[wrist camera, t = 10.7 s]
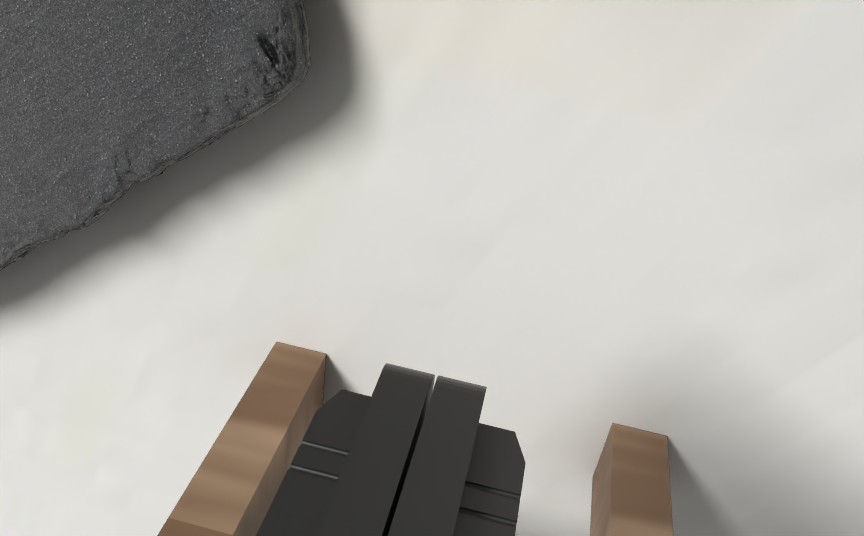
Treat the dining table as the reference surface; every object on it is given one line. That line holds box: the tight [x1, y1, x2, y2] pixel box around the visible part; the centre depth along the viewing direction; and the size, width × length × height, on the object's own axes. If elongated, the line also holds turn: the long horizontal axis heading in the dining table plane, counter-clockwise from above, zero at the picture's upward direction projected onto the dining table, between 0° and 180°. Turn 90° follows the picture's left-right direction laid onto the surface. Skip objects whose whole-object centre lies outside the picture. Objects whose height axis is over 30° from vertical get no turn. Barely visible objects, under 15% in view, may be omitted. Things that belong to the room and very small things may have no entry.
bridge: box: [158, 342, 673, 536], centre depth 26 cm, size 3×15×10 cm, turn 82°
